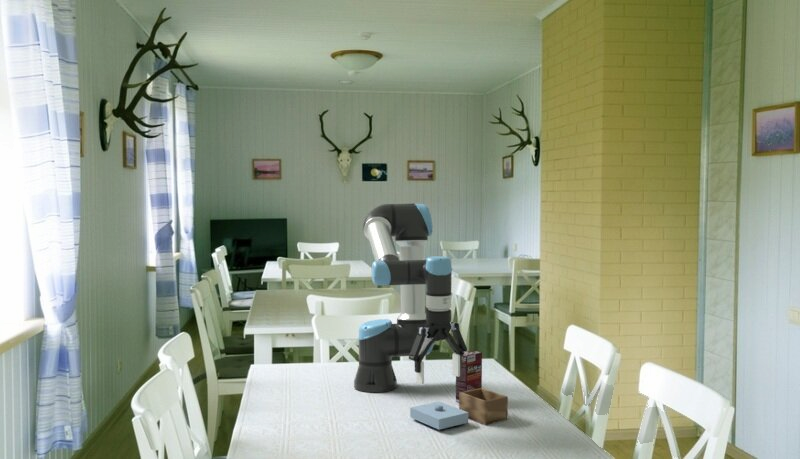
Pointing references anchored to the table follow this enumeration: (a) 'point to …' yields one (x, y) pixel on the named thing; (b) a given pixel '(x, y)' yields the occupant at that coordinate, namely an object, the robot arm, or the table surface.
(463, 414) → the lid
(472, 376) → the supplement box
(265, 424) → the table surface
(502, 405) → the box
